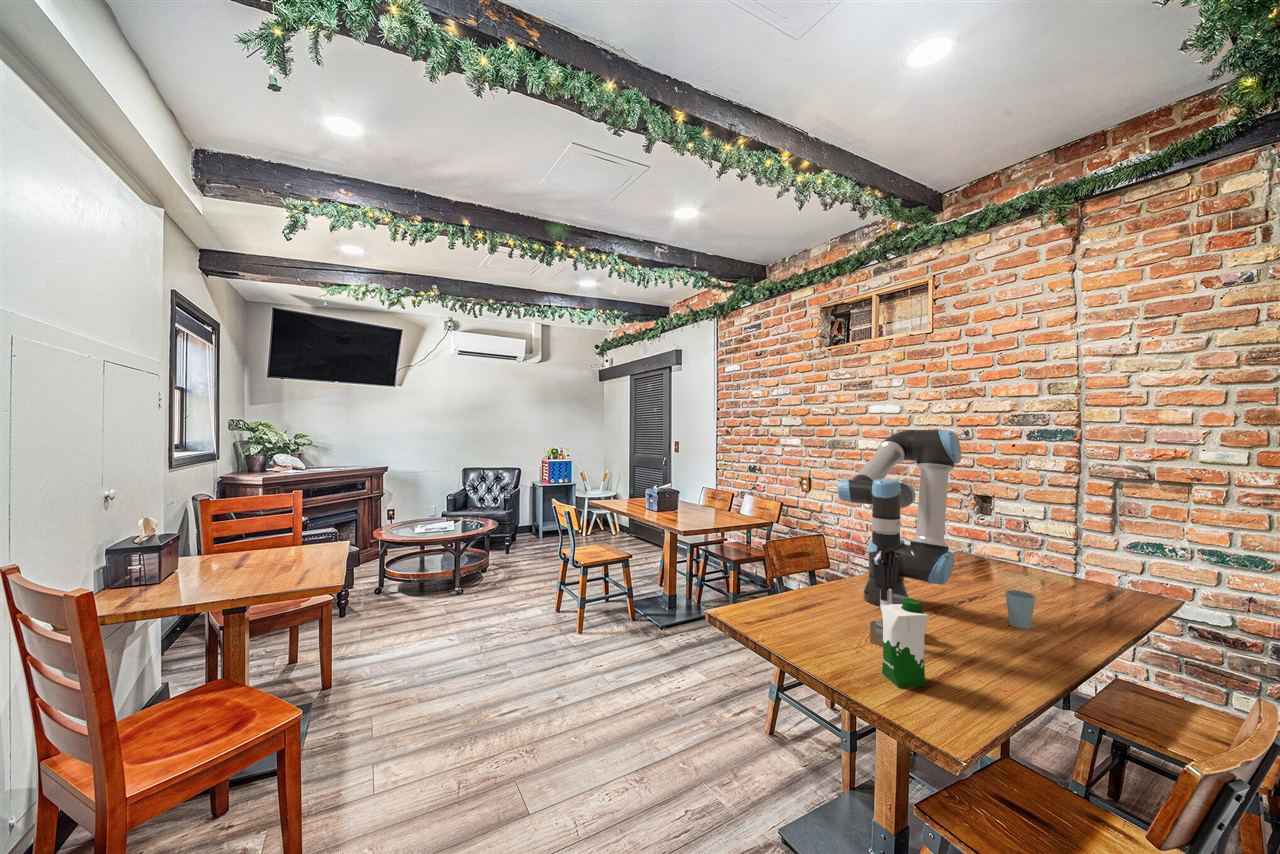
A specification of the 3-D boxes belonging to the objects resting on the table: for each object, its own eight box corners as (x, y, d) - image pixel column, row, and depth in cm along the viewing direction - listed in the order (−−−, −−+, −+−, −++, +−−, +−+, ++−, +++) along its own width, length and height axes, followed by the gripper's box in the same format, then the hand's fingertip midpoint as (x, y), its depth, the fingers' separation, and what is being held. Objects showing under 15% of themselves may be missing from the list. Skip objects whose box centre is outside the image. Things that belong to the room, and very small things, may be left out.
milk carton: (931, 688, 118) (932, 607, 118) (896, 690, 117) (897, 608, 117) (908, 670, 127) (909, 595, 127) (876, 671, 126) (876, 595, 126)
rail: (897, 652, 137) (897, 629, 137) (863, 640, 145) (863, 617, 145) (925, 636, 148) (925, 614, 148) (892, 625, 156) (892, 605, 156)
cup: (1040, 628, 155) (1040, 596, 155) (1026, 632, 152) (1026, 599, 152) (1014, 619, 162) (1014, 588, 162) (1000, 623, 159) (1000, 591, 159)
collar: (909, 637, 145) (909, 601, 145) (885, 629, 150) (885, 594, 150) (914, 634, 147) (914, 598, 147) (890, 626, 152) (890, 592, 152)
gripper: (888, 537, 136) (888, 620, 136) (909, 530, 144) (909, 609, 144) (862, 532, 142) (862, 611, 142) (884, 526, 150) (883, 601, 150)
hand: (885, 610), depth 143 cm, fingers closed
